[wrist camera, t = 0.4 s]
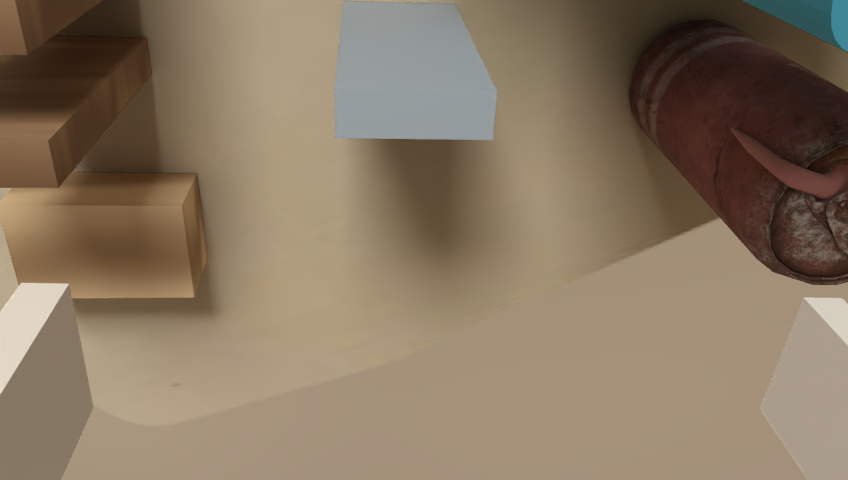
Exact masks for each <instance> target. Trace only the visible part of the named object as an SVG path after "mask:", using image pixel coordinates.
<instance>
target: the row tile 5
mask: <svg viewBox="0 0 848 480" xmlns="http://www.w3.org/2000/svg"><path fill="white" fill-rule="evenodd" d="M151 73H152V70H151V63H150V56H149V49H148V42H147V38H143V37H99V36H55V35H54V36H53V37H52V38H50V39H49V40H47V41H46V42H45V43H43V44H42V45H41V46H39V47H38V48H36V49H35V50H34V51H32V52H31V53H30V54H28V55H2V54H1V55H0V188H59V187H60V186H61V184H62V183H63V182H64V181H65V179H66V178H67V177H68V176H69V174H70V173H71V172H72V171H73V169H74V168H75V167H76V166H77V165H78V163H79V162H80V161H81V160H82V158H83V157H84V156H85V155H86V153H87V152H88V151H89V150H90V149H91V147H92V146H93V145H94V144H95V142H96V141H97V140H98V139H99V137H100V136H101V135H102V134H103V132H104V131H105V130H106V129H107V128H108V126H109V125H110V124H111V123H112V121H113V120H114V119H115V118H116V116H117V115H118V114H119V113H120V111H121V110H122V109H123V108H124V107H125V105H126V104H127V103H128V102H129V100H130V99H131V98H132V97H133V95H134V94H135V93H136V92H137V90H138V89H139V88H140V87H141V86H142V84H143V83H144V82H145V81H146V79H147V78H148V77H149V76H150V74H151Z"/></svg>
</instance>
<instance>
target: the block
mask: <svg viewBox="0 0 848 480" xmlns="http://www.w3.org/2000/svg"><path fill="white" fill-rule="evenodd" d="M742 1H744V2H746V3H748V4H750V5H752V6H754V7H756V8H758V9H760V10H762V11H764V12H767V13H769V14H771V15H773V16H775V17H777V18H779V19H781V20H783V21H785V22H787V23H789V24H791V25H793V26H795V27H797V28H799V29H801V30H803V31H805V32H807V33H809V34H811V35H813V36H815V37H817V38H819V39H822V40H824V41H826V42H828V43H830V44H832V45H834V46H836V47H838V48H840V49H842V50H844V51H846V52H848V0H742Z"/></svg>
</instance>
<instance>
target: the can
mask: <svg viewBox="0 0 848 480" xmlns="http://www.w3.org/2000/svg"><path fill="white" fill-rule="evenodd" d="M629 98H630V106H631V112H632V114H633V115H634V117H635V119H636V121H637V123H638V125H639V127H640V128H641V129H642V130H643V131H644V132H645V133H646V134H647V136H648V137H649V138H650V139H651V140H652V141H653V142H654V143H655V145H656V146H657V147H658V148H659V149H660V150H661V151H662V152H663V154H664V155H665V156H666V157H667V158H668V159H669V160H670V161H671V163H672V164H673V165H674V166H675V167H676V168H677V169H678V171H679V172H680V173H681V174H682V175H683V176H684V177H685V178H686V180H687V181H688V182H689V183H690V184H691V185H692V186H693V187H694V189H695V190H696V191H697V192H698V193H699V194H700V195H701V196H702V198H703V199H704V200H705V201H706V202H707V203H708V204H709V205H710V207H711V208H712V209H713V210H714V211H715V212H716V213H717V215H718V216H719V217H720V218H721V219H722V220H723V221H724V222H725V224H726V225H727V226H728V227H729V228H730V229H731V230H732V231H733V232H734V234H735V235H736V236H737V237H738V238H739V239H740V240H741V242H742V243H743V244H744V245H745V246H746V247H747V248H748V249H749V251H750V252H751V253H752V254H753V255H754V256H755V257H756V258H757V259H758V260H759V261H760V262H761V263H763V264H764V265H765V266H766V267H768V268H769V269H770V270H771V271H772V272H775V273H778V274H781V275H784V276H787V277H791V278H793V279H797V280H800V281H803V282H806V283H810V284H812V285H837V284H841V283H845V282H848V92H846V91H844V90H842V89H841V88H839V87H837V86H835V85H834V84H832V83H830V82H828V81H827V80H825V79H823V78H821V77H820V76H818V75H816V74H814V73H813V72H811V71H809V70H808V69H806V68H804V67H802V66H801V65H799V64H797V63H795V62H794V61H792V60H790V59H788V58H787V57H785V56H783V55H781V54H780V53H778V52H776V51H774V50H773V49H771V48H769V47H767V46H766V45H764V44H762V43H761V42H759V41H757V40H755V39H754V38H752V37H750V36H748V35H747V34H745V33H743V32H741V31H740V30H738V29H736V28H734V27H732V26H729V25H727V24H724V23H722V22H720V21H714V20H695V21H692V22H688V23H685V24H681V25H678V26H676V27H674V28H672V29H671V30H669V31H668V32H666V33H664V34H663V35H661V36H660V37H658V38H657V39H656V40H655V41H654V42H653V43H652V44H651V45H650V46H649V48H648V49H647V50H646V51H645V52H644V53H643V54H642V56H641V58H640V60H639V62H638V64H637V65H636V67H635V69H634V71H633V73H632V79H631V84H630V89H629Z"/></svg>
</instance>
